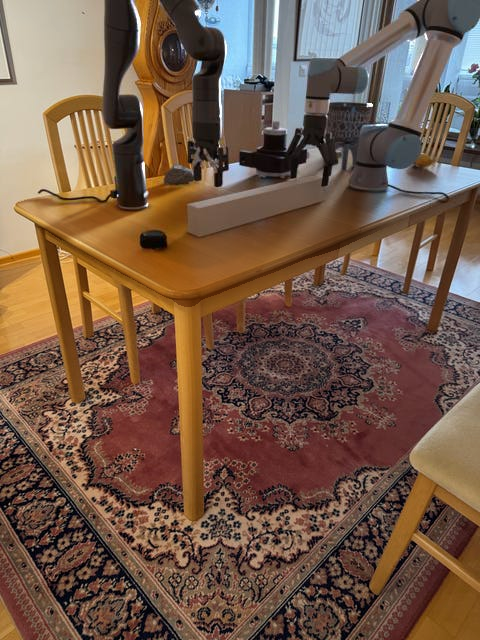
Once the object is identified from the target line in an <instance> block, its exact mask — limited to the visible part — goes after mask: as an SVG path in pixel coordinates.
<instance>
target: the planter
mask: <svg viewBox="0 0 480 640" xmlns="http://www.w3.org/2000/svg"><path fill="white" fill-rule="evenodd" d="M373 107H374V106H373V104H372V103H367V102H353V101H333V102H329V110H328V113H327V114H326V115H327V117H328V118H327V126H326V128H325V133H333V142H334V146H335V150H336V149H338V148H340V147H342V151H341V152H342V153H341V166H340V170H341V172H345V171H347V167H348V166H347V165H348V159H349V152H350V154H351V157H352V158H351V159H352V160H351V161H352V166H353V167H355V165H356V158H357V151H358V144H359V135H360V131H361V128H362V126H364V125H370V121H371V116H372V112H373ZM324 142H325V144H326V140H324ZM325 146H326V145H325ZM326 148H327V146H326ZM323 166H326V164H325V162H324V161H323Z"/></svg>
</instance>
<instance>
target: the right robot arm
mask: <svg viewBox="0 0 480 640" xmlns="http://www.w3.org/2000/svg"><path fill="white" fill-rule="evenodd" d="M479 22H480V0H417V1H416V2H414V3H413V4H412V5H410V6H409V7H407V8H405V9H404V10H403V11H401V12H400V13H399V14H398V16H397V19H395V20H393V21H392V22H391V23H389V24H388V25H386V26H384V27H382V28H381V29H380V30H378V31H377V32H376V33H374V34H372V35H371V36H370V37H368V38H367V39H365V40H363V41H362V42H361V43H359V44H357V45H356V46H355V47H353V48H352V49H350V50H349V51H347V52H346V53H344V54H343V55H341V56H340V57H338V58H337V59H334V58H327V57H313V58H311V59H310V60H309V63H308V69H307V75H306V76H307V80H306V91H305V100H304V101H305V102H304V113H305V114H303V120H302V126H303V127H296V128H294V129H295V130H294V136H293V137H292V139H291V142H289V144H290V146H289V148H288V150H287V152H286V156H289V157H290V168H291V172H290V175H289V180H295V179H298V178H297V177H298V171H297V168H298V169H299V167H298V159H297V156H298V155H299V154H300V152H301V151H302V150H303V149H304V148H305V149H306V147H307V146H312V147H315V148H316V149H318V152H319V153H320V155H321V158H322V160H323V163H324V162H325V164H326V165H323V169H322V176H321V177H322V184H321V187H324V188H325V187H329V182H330V181H329V180H330V177H331V176H332V172H333V166H337V165H339V158H338V154H337V151H336V150H335V146H334V142H333V133H325V128H326V126H327V118H328V117H327V115H326V114H327V113H328V110H329V103H330V99H331V94H341V95H342V94H343V95H353V96H354V95H361V94H363V93H364V92H365V91H366V89H367V87H368V84H369V79H370V78H369V72H368V70H367V68H368V67H370V66H371V65H373V64H374V63H376V62H377V61H379V60H381V59H382V58H384V57H385V56H387V55H388V54H390V53H391V52H392V51H394V50H396V49H397V48H399V47H401V45H403V44H405V43H407V42H413V41H415V40H416V39H417V38H420V37H422V36H425V39H426V43H425V45H424V47H423V50H422V52H421V55H420V57H419V60H418V62H417V64H416V67H415V70H414V72H413V74H412V77H411V79H410V82H409V85H408V88H407V90H406V92H405V94H404V97H403V99H402V102H401V104H400V106H399V109H398V111H397V115H396V117H395V118H394V119H392V120H390V121H388V124H369V125H364V126H362V128H361V131H360V135H359V144H358V151H357V158H356V165H355V166H354V167H353V171H351V174H350V176H349V179H348V182H347V187H348V188H349V189H351V190H354V191H358V192H363V193H364V192H365V193H382V192H386V191H388V189H389V188H392V189H393V190H396V191H399V192H402V193H406V194H412V195H413V194H415V195H424V194H425V195H426V194H427V195H442V196H444V197H445V198H446V199H450V196H449V195H448V194H447V193H445V192H442V191H415V190H414V191H412V190H405V189H401V188H399V187H397V186H394V185H392V184H389V178H388V173H387V172H388V171H387V167H388V168H390V169H396V170H405V169H408V168H409V167H411V166H414V165H413V164H414V163H415V162H416V161H417V159H418V158H419V156H420V154H421V153H422V151H423V145H422V142H423V141H422V140H421V137H422V134H423V131H422V128H421V125H422V124H423V120H424V118H425V115H426V113H427V111H428V108H429V106H430V104H431V102H432V99H433V97H434V95H435V92H436V90H437V88H438V85H439V83H440V81H441V78H442V76H443V73H444V71H445V69H446V67H447V64H448V62H449V59H450V57H451V54H452V53H453V49H454V48H456V47H457V46H459V45H461V43H462V41H463V39H464V37H465V35H466V33H468V32H470V31H472V29H475V27H476V26H477V25H478V23H479ZM325 141H326V144H325ZM325 145H326V146H327V148H326V146H325Z"/></svg>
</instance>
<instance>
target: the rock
mask: <svg viewBox="0 0 480 640" xmlns="http://www.w3.org/2000/svg"><path fill="white" fill-rule="evenodd" d="M193 175H194V174H193V169H191V168H188V167H186V166H183V165H180V164H178V163H174V164H173V166H172V167H170V168H169V169H168V170H167V171H166V172H165V174H164V177H163V183H164V185H169V186H180V185H184V186H185V185H190V184H189V183H191V182H194V176H193Z"/></svg>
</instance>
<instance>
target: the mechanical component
mask: <svg viewBox="0 0 480 640" xmlns="http://www.w3.org/2000/svg"><path fill="white" fill-rule="evenodd" d="M287 138H288V129H287V128H286V127H280V121H279V120H272V126H271V127H265V128H264V129H263V145H262V146H258V147H257V148H256V151H250V150H245V149H241V150H239V153H238V154H239V155H238V157H239V159H238V166H240V167H245V168H250V169H255V173H256V174H257V175H261V177H262V178H267V177H279V178H280V179H285V176H290V172H291V168H290V157H289V156H286V152H287V150H288V148H289V146H290V143H287ZM310 156H311V154H310V152H309V151H308V148H306V147H305V148H304V149H303V150H302V151H301V152H300V154H299V155H298V156H297V159H298V168H297V172H298V171H299V167H300V165H303V164H304V165H305V164H307V160H309V158H310Z"/></svg>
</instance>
